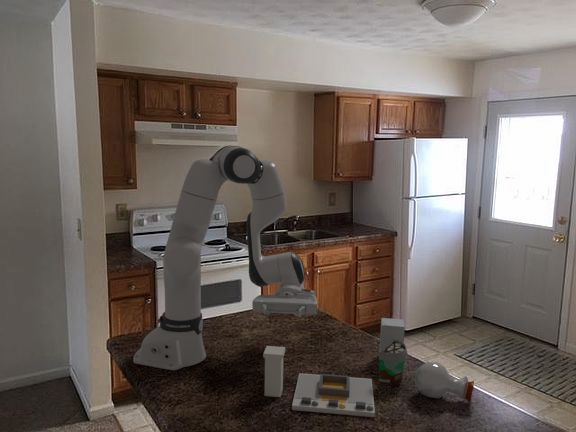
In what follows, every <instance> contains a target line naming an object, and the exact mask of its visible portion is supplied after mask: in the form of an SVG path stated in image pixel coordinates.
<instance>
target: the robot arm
mask: <svg viewBox="0 0 576 432" xmlns="http://www.w3.org/2000/svg"><path fill="white" fill-rule="evenodd" d="M227 181H229V182H231V183H235V184H239V185H240V184H243V185H245V184H246V185H247V186H248V189H249V191H250V196H251V200H252V209H251V212H250V213H248V214H247V218H246V240H247V252H248V276H249V279H250V282H251V283H252V284H253V285H255V286H257V287H259V288H263V287H267V286H270V285H274V284H278V283H279V284H280V285H278V288H277V290H276V292H275V294H259V295H257V296H256V297H254V299H253V300H252V303H251V304H252V305H251V306H252V307H251V308H252V311H253V312H255V313H263V315H264V316H269V315H270V314H271V313H272V314H273V313H274V314H290V315H291V314H292V315H294V316H295V317H302V316H303V315H307V316H308V315H311V316H312V315H313V316H315V315H317V314H318V298H317V296H316V295H315V291H314V290H312V289H311V290H310V289H305V283H304V280H305V277H306V273H305V271H306V270H305V267H304V266H305V265H304V263H303V260H302V258H301V257H300V256H299V255H298V254H297V253H296V252H294V251H287V252H282V253H277V254H272V255H266V256H265V255H262V248H261V232H262V231H263V230H264V229H265V228H267V227H268V226H270V225H272V224H274V223H275V222H277V221H278V220H279V219H280V218H281V217H282V216H283V215H284V214H285V212H286V210H287V208H288V202H287V201H288V200H287V194H286V189H285V185H284V182H283V179H282V176H281V174H280V171H279V169H278V166H277V165H276V164H275V163H274V162H272V161H270V160H260V159H259V158H258V157H257V155H256V154H254V152H252V151H251V150H249V148H248V149H247V148H245V147H242V146H240V145H225V146H223V147H221V148H219V150H217V151H216V152H215V153H214V154H213V155H212V156H211V157H210V158H209V159H206V158H205V159H204V158H203V159H201V158H200V159H197V160H195V161H194V162H192V164H191V166H190V168H189V170H188V171H187V173H186V176H185V179H184V181H183V184H182V188H181V191H180V194H179V199H178V202H177V205H176V209H175V213H174V215H173V216H174V217H173V218H172V219H173V221H172V223H171V226H170V227H171V228H170V230H169V234H168V238H167V241H166V245H165V249H164V252H163V257H162V264H163V269H162V270H163V282H164V283H163V285H164V286H163V287H164V311H163V312H162V314H161V315H160V316H159V318H158V319H157V324H159V325H158V326H157V327H156V328H154V329H153V330H152V331H150V332H149V333H148V334H147V335H146V336H145V337H144V338H143V340H142V343H141V347H140V349H138V350H137V351H136V352H135V354H134V355H133V358H132V361H133V364H136V365H141V366H142V365H143V366H146V367H147V366H148V367H152V368H158V369H163V370H164V369H165V370H170V371H177V370H180V369H182V368H185V367H191V366H194V365H196V364H199V363H202V361H204V360H205V359H206V358H207V353H206V349H205V346H204V341H203V335H202V332H203V327H204V325H203V324H204V323H203V314H202V309H201V308H202V306H201V305H202V298H201V297H202V295H201V294H202V293H201V291H202V288H201V287H202V286H201V285H202V283H201V280H202V256H201V252H202V248H203V246H204V243H205V238H206V236H207V233H208V230H209V228H210V225H211V221H212V218H213V215H214V211H215V207H216V203H217V200H218V196H219V193H220V190H221V188H222V186H223V184H224V183H225V182H227Z"/></svg>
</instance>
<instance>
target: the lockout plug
mask: <svg viewBox="0 0 576 432" xmlns="http://www.w3.org/2000/svg"><path fill="white" fill-rule="evenodd" d="M285 353H286V347H285V346H274V345H266V347H265V349H264V351H263V355H262V356H263V359H264V397H273V398H281V397H282V394H283V391H284V390H283V389H284V356H285Z"/></svg>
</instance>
